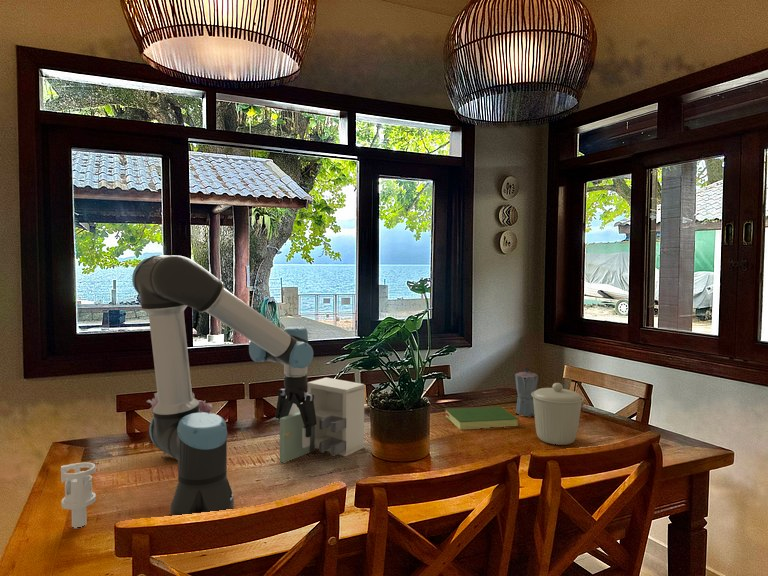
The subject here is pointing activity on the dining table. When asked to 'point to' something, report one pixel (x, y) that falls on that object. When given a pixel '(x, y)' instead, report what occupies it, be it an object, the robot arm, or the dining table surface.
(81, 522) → the strainer
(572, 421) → the canister
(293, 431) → the door
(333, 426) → the cabinet
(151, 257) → the robot arm
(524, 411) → the moka pot
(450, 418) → the hardcover book
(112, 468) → the dining table surface
